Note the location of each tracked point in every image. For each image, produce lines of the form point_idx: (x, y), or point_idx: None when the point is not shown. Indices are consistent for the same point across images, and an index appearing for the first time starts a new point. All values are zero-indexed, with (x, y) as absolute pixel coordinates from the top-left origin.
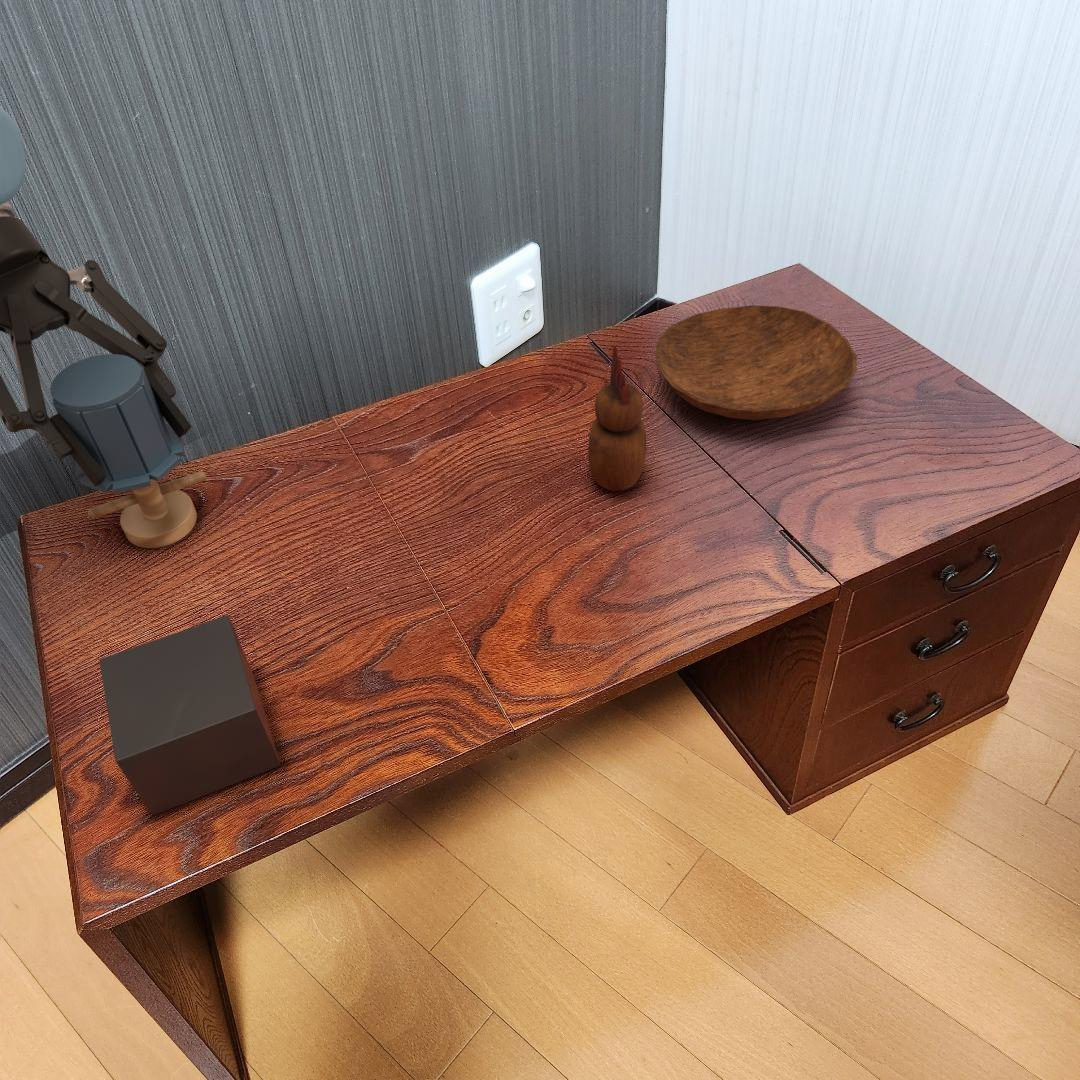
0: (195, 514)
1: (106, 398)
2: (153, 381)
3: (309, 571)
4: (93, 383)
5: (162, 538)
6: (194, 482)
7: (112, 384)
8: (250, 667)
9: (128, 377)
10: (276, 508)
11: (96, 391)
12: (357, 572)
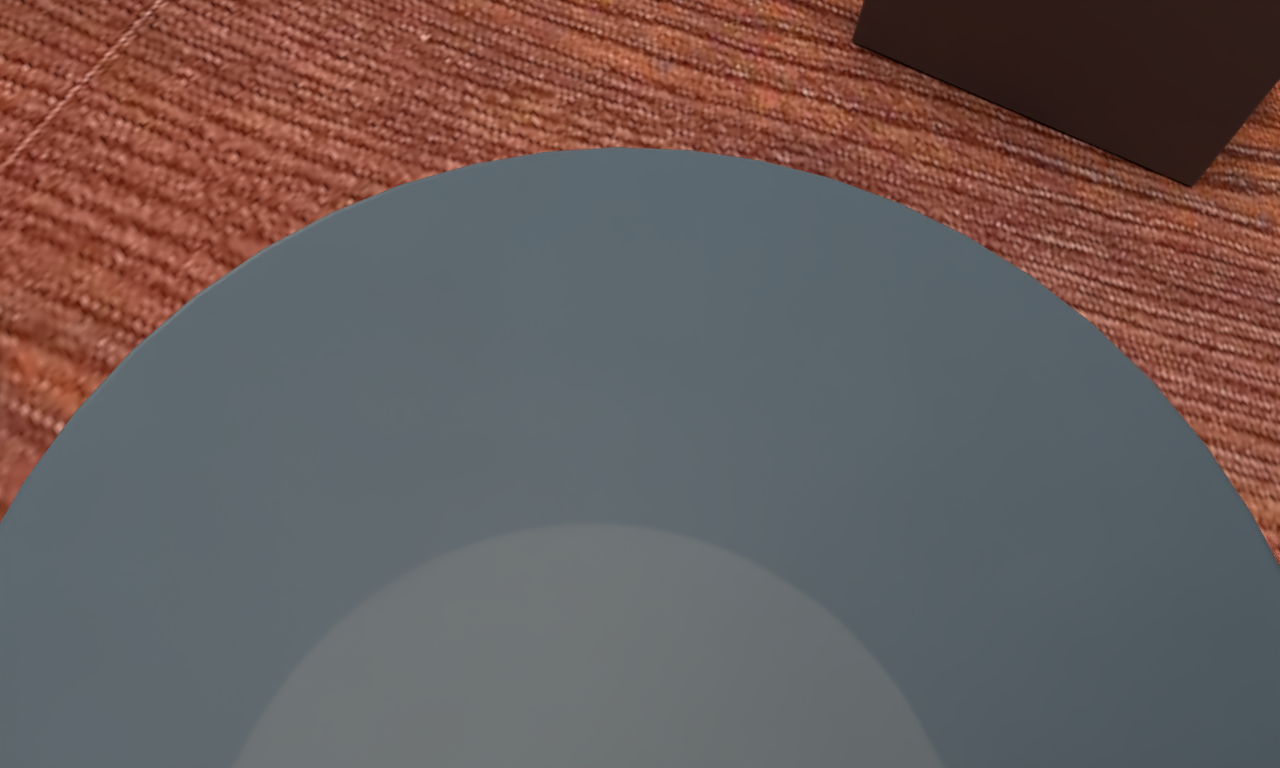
0: None
1: (823, 220)
2: None
3: (437, 169)
4: (745, 644)
5: None
6: None
7: (592, 391)
8: (860, 13)
9: (361, 335)
10: None
11: (830, 429)
12: (352, 52)
